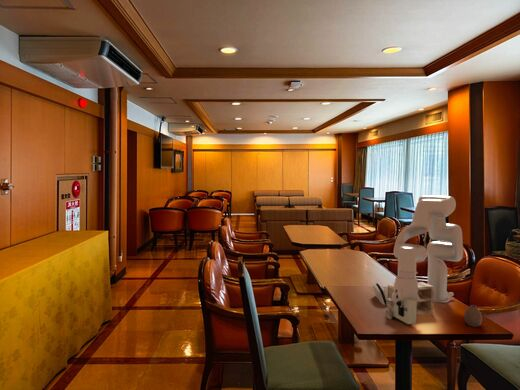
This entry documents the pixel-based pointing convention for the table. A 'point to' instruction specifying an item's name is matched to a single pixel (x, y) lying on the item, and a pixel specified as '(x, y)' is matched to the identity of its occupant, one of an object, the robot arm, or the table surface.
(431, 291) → the cabinet
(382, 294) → the white electronic device
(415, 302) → the pale white box
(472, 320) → the vase
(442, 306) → the table surface
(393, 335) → the table surface
